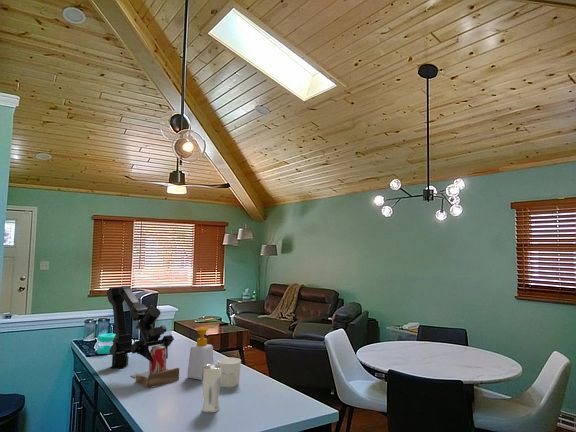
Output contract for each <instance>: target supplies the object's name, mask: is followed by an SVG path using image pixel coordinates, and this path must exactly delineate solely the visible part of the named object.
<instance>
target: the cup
mask: <svg viewBox="0 0 576 432" xmlns="http://www.w3.org/2000/svg"><path fill="white" fill-rule="evenodd" d="M241 364H242V359H240V358H237V357H223V358H219V359H218V360H217V365H220V366H221V387H222V388H223V387H224V388H233V387H234V388H235V387H236V386H238V385H239V384H240V376H241V374H240V373H241ZM221 387H220V388H221Z"/></svg>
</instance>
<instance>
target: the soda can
mask: <svg viewBox="0 0 576 432" xmlns="http://www.w3.org/2000/svg"><path fill="white" fill-rule="evenodd" d="M149 351H150V354H151V356H152V359H153V362H150V361H149V360H148V361H149V365H148V370H149V374H154V373H158V372H162V371H166V369H167V359H166V349H165V346H163V345H160V344H159V345H154V346H151V348H150V350H149Z"/></svg>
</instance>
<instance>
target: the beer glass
mask: <svg viewBox="0 0 576 432" xmlns="http://www.w3.org/2000/svg"><path fill="white" fill-rule="evenodd" d="M201 386H202V396H203V403H202V409H201V410H202V412H203V413H206V414H212V413H213V414H214V413H216V412H218V411H219V410H220V403H219V397H220V391H221V366H220V365H218V364H215V363H214V364H210V365H205V366H203V372H202V380H201Z"/></svg>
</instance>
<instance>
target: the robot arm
mask: <svg viewBox="0 0 576 432" xmlns="http://www.w3.org/2000/svg"><path fill="white" fill-rule="evenodd" d="M106 296H107V299H108V303H110V305H111V307H112V313H113V321H114V323H113V324H114V330H115V334H116V335H115V337H114V339H113V341H112V344H111V346H112V347H111V348H110V350H109V352H110V354H109V355H110V356H112V358H111V359H112V360H111V366H110V369H124V368H126V367H127V366H128V365H129V355H128V354H137V355H140V356H142V357H144V358H145V359H146V360H148V361H150V362H153V359H152V356H151V354H150V351H151V350H150V348H149V347H153V346H157V345H163V346H165V349H166V360H167V359H168V358H169V357H168V356H169V355H168V354H169V353H168V352H169V351H168V347H170V345H171V344H172V342H173V341H174V340H175V338H174V336H173V335H172V334H169V335H164V334H165V333H166V332H167V330H168V329H167V327H166V325H165V324H161V325H160V326H158V327H157V326H156V327H153V325H154V324H155V323H156V322H157V319H158V318H159V317H160V316H161V310H160V309H159V308H157V307H155V306H154V305H153V304H152V305H148V307H147V306H146V305H145V304H143V303H141V302H140V301H139V299H138V298H137V297H136V296H135V294H134V292H133V291H132V288H131V287H130V286H128V285H123V286H115V287H114V286H113V287H109V288H108V289H107V290H106ZM124 301H125V304H126V305H127V307H128V308H129V315H130V318H131V319H132V321H138V322H137V323H136V327H135V329H136V330H139V332H140V334H141V336H140V339H138V340H135V341H134V343H133V339H132V334H131V333H128V331H127V327H126V326H127V325H126V319H125V318H126V317H125V310H124ZM162 335H164V336H163V337H162ZM161 337H162V338H161ZM160 338H161V339H160Z"/></svg>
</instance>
